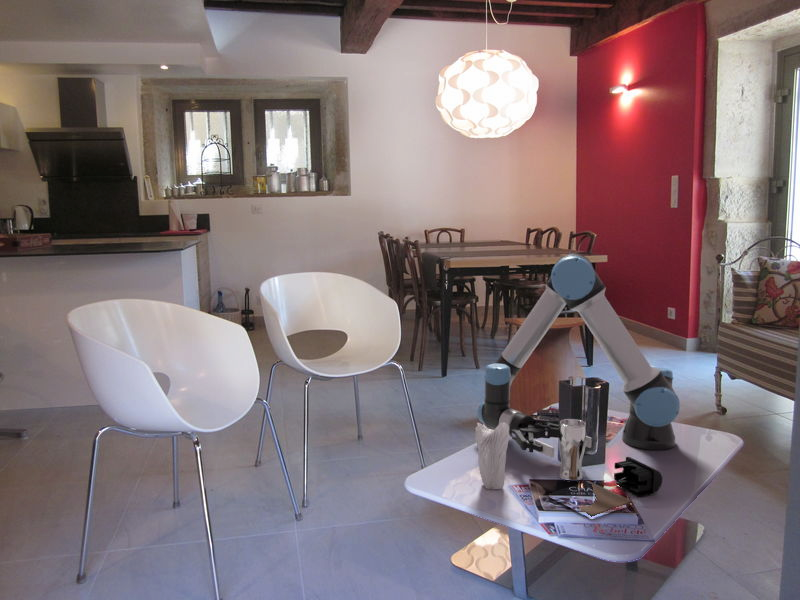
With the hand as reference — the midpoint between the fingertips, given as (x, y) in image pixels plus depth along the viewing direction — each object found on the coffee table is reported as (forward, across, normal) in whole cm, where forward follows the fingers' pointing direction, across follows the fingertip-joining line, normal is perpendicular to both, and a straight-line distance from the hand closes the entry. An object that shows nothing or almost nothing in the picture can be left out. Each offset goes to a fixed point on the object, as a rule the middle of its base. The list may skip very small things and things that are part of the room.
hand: (572, 447), depth 176 cm
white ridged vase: (-6, +22, -9) cm, 24 cm away
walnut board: (+13, +6, -8) cm, 16 cm away
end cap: (+14, -10, -9) cm, 19 cm away
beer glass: (0, 0, -9) cm, 9 cm away
